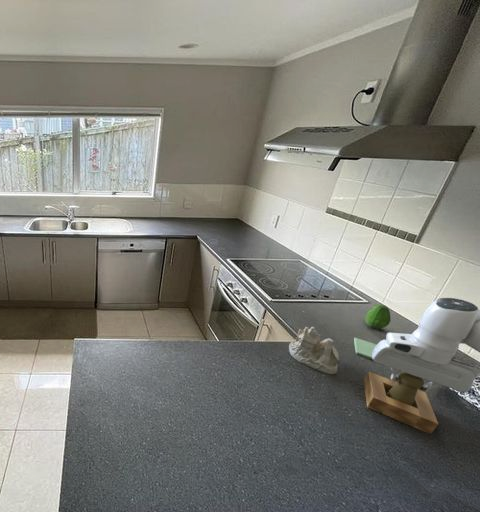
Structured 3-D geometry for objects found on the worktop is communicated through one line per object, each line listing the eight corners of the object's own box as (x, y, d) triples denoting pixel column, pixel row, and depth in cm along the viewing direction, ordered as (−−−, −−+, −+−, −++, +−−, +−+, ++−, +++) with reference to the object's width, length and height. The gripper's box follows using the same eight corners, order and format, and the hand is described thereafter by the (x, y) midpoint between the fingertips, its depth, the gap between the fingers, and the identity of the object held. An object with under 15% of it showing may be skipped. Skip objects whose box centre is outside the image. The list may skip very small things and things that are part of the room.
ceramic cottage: (333, 378, 100) (348, 343, 95) (282, 354, 111) (292, 321, 106) (342, 361, 110) (355, 328, 105) (293, 340, 121) (304, 310, 116)
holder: (419, 402, 92) (425, 392, 90) (430, 434, 82) (438, 423, 80) (363, 380, 100) (368, 371, 98) (367, 407, 89) (373, 397, 88)
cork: (403, 411, 86) (420, 385, 82) (380, 395, 92) (395, 370, 87) (416, 407, 88) (433, 381, 84) (392, 392, 93) (408, 366, 89)
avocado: (358, 324, 132) (369, 302, 128) (367, 320, 135) (378, 299, 131) (379, 334, 126) (391, 311, 121) (388, 330, 129) (400, 308, 124)
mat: (391, 351, 115) (392, 349, 115) (397, 368, 106) (398, 366, 106) (353, 339, 122) (354, 337, 121) (355, 353, 113) (356, 352, 112)
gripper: (480, 359, 78) (454, 395, 83) (381, 330, 90) (364, 363, 95) (489, 373, 74) (462, 410, 79) (384, 340, 85) (366, 375, 90)
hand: (407, 384), depth 87 cm, fingers closed on cork, 5 cm apart
